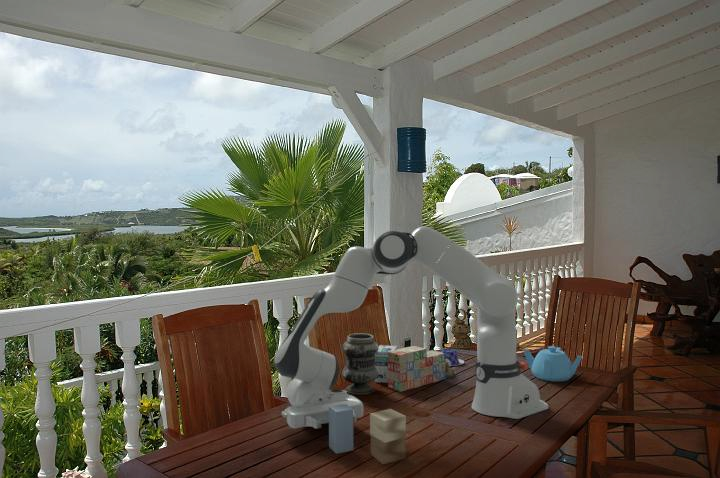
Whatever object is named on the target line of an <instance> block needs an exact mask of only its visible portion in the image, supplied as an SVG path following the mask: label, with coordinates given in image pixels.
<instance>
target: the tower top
mask: <svg viewBox="0 0 720 478" xmlns="http://www.w3.org/2000/svg"><path fill="white" fill-rule="evenodd" d="M369 435H370V436H371V435H372V436H374V437H375V438H377V439H379V440H381V441H382V442H384V443H386V442H390V441H394V440H397V439H401V438H405V439H406V438H407V437H406V436H407V416H406V415H405V414H403V413H400V412H398V411H396V410H394V409H392V408H387V409H384V410H378V411H374V412H370V413H369Z"/></svg>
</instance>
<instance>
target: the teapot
mask: <svg viewBox="0 0 720 478" xmlns="http://www.w3.org/2000/svg"><path fill="white" fill-rule="evenodd" d="M523 353H524V356H525V359H526V363H527V364H528V365H527V366H528V367H529V369H530V370H531V373H532V374H533V376H534V377H535V378H536V379H539V380H542V381H547V382H554V383H555V382H558V383H559V382H566V381H567V382H568V381H569V380H570V379H571V378H572V377H573V376H574V375H575V373H576V371H577V369H578V367H579V365H580V363H581V360H582V359H583V356H582V355H577V356H576V358H575V359H574V362H573V363H572V362H571V360H570V358H569V357H568V355H567V354H566V352H564V351H563V350H562V348H561V347H558V346H557V347H556V346H554V345H549V346H548V347H547V348H544V349H541V350H540V351H539V352H538V353H537V354H536V356H535V358H534V356H533V355H532V354H531V351H530V350H529V349H524V350H523Z"/></svg>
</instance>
